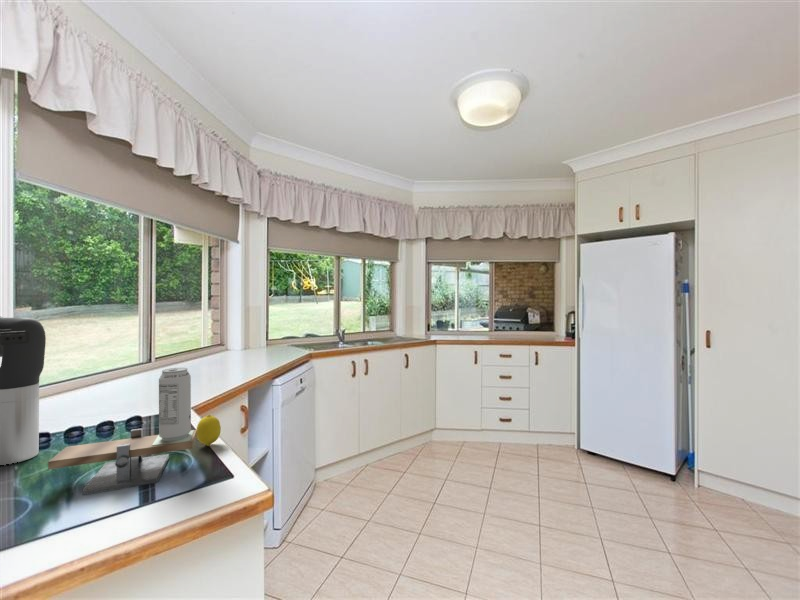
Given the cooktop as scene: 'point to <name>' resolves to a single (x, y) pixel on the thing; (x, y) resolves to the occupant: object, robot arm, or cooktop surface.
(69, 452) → the beam
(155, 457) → the beam stand
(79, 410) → the cooktop surface
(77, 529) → the cooktop surface
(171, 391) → the energy drink can
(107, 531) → the cooktop surface
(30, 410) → the robot arm
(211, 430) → the lemon
